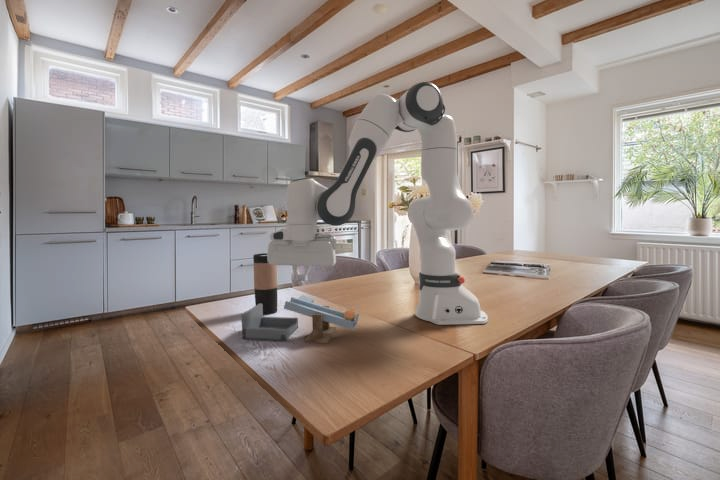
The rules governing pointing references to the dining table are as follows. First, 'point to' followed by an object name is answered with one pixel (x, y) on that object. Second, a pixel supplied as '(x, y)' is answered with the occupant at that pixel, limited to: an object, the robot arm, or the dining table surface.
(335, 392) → the dining table surface
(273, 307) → the travel mug
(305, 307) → the lever
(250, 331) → the tray
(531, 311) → the dining table surface
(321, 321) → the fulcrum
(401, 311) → the dining table surface
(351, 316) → the ball
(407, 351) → the dining table surface
